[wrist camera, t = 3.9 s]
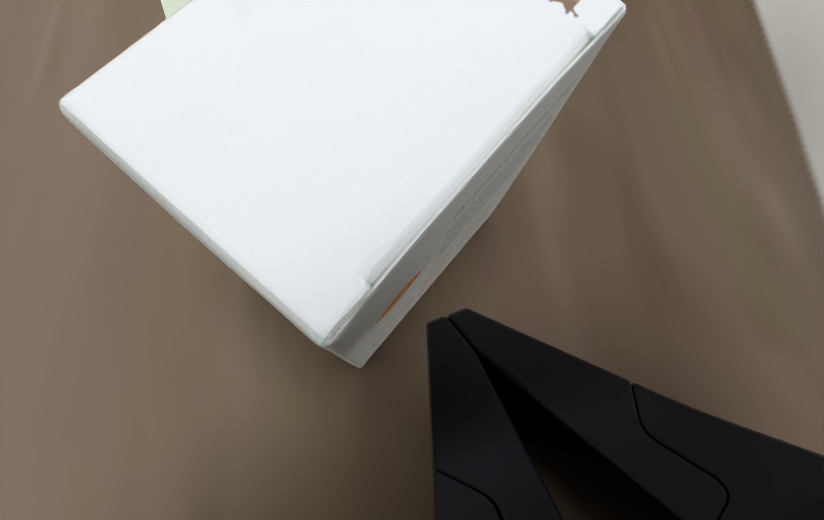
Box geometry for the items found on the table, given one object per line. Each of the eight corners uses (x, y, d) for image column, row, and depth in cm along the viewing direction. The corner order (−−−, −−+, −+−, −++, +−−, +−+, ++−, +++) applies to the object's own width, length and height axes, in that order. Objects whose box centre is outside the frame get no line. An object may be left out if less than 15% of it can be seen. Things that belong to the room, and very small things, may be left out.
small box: (387, 135, 18) (397, -171, 8) (492, 217, 18) (643, -6, 8) (246, 274, 16) (32, 94, 6) (359, 374, 16) (321, 353, 6)
